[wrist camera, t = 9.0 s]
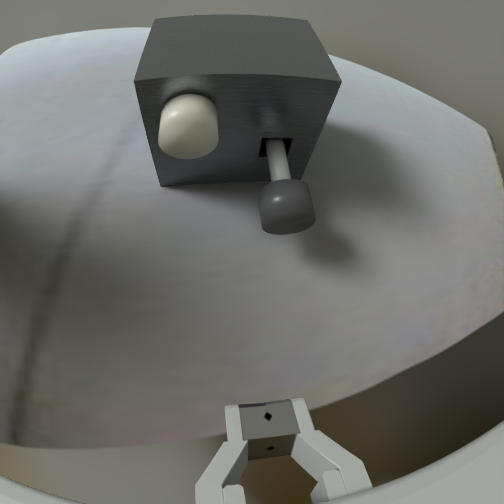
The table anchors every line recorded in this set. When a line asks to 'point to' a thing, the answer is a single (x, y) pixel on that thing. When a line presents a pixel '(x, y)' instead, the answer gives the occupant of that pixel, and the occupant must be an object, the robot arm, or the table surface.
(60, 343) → the table surface
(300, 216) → the charcoal knob
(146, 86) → the control box
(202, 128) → the ivory knob
